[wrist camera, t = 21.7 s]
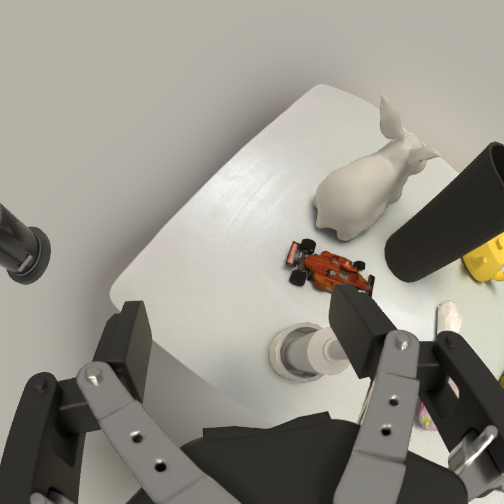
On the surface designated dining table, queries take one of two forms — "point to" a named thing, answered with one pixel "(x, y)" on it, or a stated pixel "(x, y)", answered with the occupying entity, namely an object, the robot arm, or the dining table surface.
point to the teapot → (487, 260)
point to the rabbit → (371, 179)
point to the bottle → (315, 353)
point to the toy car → (325, 268)
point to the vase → (452, 220)
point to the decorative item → (424, 415)
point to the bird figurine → (448, 317)
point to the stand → (278, 343)
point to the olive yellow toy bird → (502, 381)
